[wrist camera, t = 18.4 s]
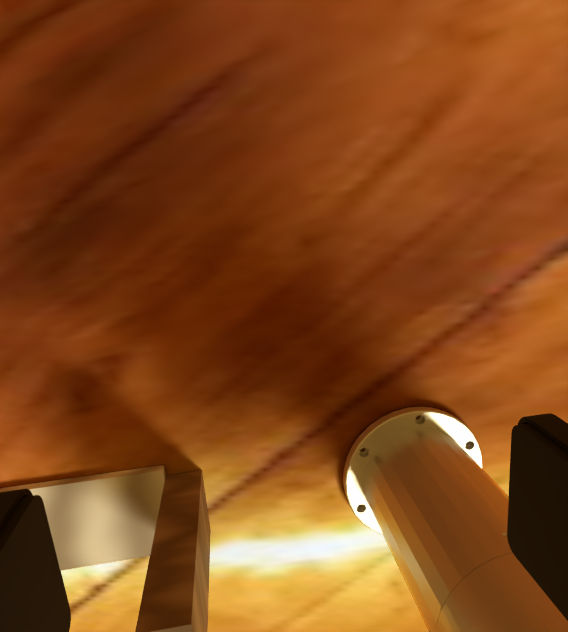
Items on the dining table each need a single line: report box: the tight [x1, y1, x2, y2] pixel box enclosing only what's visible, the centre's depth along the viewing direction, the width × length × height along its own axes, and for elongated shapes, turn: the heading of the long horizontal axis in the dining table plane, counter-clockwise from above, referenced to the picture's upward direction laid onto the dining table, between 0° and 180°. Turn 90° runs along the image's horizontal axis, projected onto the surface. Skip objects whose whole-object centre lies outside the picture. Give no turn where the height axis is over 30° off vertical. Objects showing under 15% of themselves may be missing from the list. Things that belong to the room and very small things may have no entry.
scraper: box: [0, 465, 210, 632], centre depth 33 cm, size 20×8×15 cm, turn 95°
